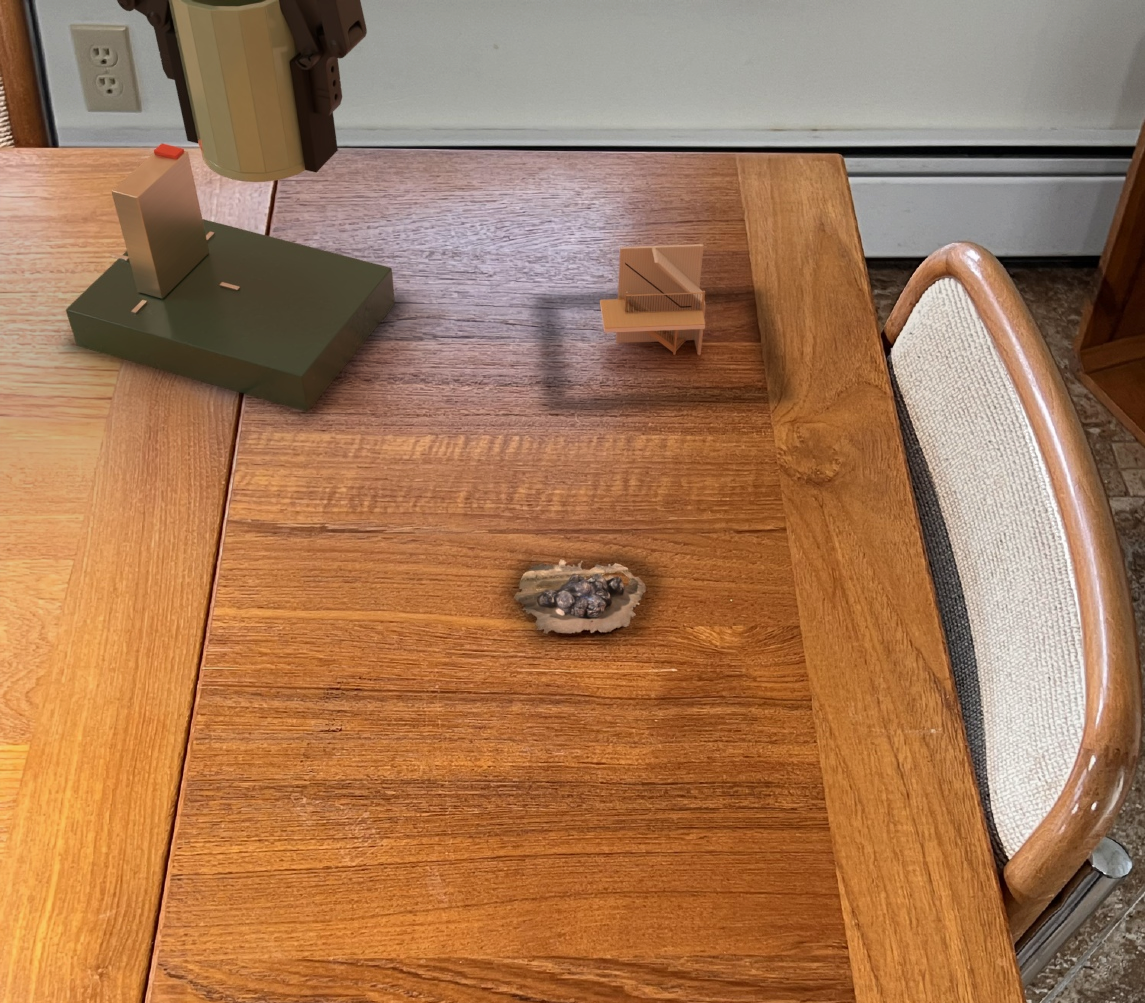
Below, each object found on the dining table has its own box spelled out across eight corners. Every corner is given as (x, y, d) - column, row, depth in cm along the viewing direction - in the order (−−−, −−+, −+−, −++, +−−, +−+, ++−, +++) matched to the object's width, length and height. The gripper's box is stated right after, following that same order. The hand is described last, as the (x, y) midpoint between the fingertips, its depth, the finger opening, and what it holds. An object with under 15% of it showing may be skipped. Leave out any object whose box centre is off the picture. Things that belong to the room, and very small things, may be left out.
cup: (178, 166, 85) (140, -6, 77) (241, 107, 90) (211, -62, 82) (286, 193, 84) (259, 20, 76) (345, 132, 88) (325, -38, 80)
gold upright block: (162, 299, 96) (136, 193, 90) (137, 292, 97) (109, 186, 90) (209, 252, 100) (187, 147, 93) (185, 245, 100) (161, 140, 94)
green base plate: (69, 344, 98) (56, 305, 95) (170, 244, 105) (160, 205, 103) (308, 413, 94) (301, 374, 91) (395, 304, 101) (392, 265, 99)
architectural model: (703, 369, 97) (713, 274, 91) (602, 373, 97) (606, 278, 91) (696, 339, 99) (706, 243, 93) (598, 342, 99) (601, 247, 93)
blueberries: (496, 585, 85) (495, 562, 83) (612, 540, 87) (613, 517, 86) (551, 660, 81) (551, 637, 80) (670, 610, 84) (672, 588, 82)
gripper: (410, -301, 68) (439, 151, 86) (52, -359, 73) (152, 82, 91) (336, -249, 64) (383, 214, 82) (-39, -313, 68) (85, 140, 87)
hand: (262, 145), depth 86 cm, fingers closed on cup, 7 cm apart
